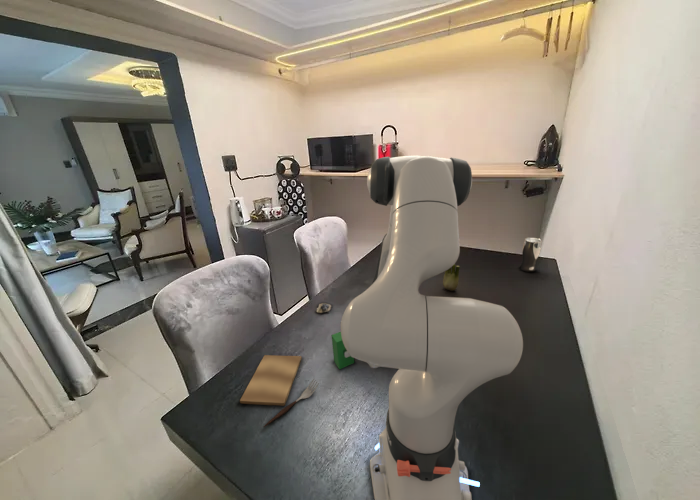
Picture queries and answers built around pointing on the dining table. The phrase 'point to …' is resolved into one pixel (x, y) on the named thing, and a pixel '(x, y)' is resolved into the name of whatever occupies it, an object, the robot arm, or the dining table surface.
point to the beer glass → (530, 253)
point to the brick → (340, 352)
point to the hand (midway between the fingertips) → (340, 348)
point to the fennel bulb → (451, 278)
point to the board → (272, 381)
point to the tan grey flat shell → (323, 308)
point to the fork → (305, 394)
